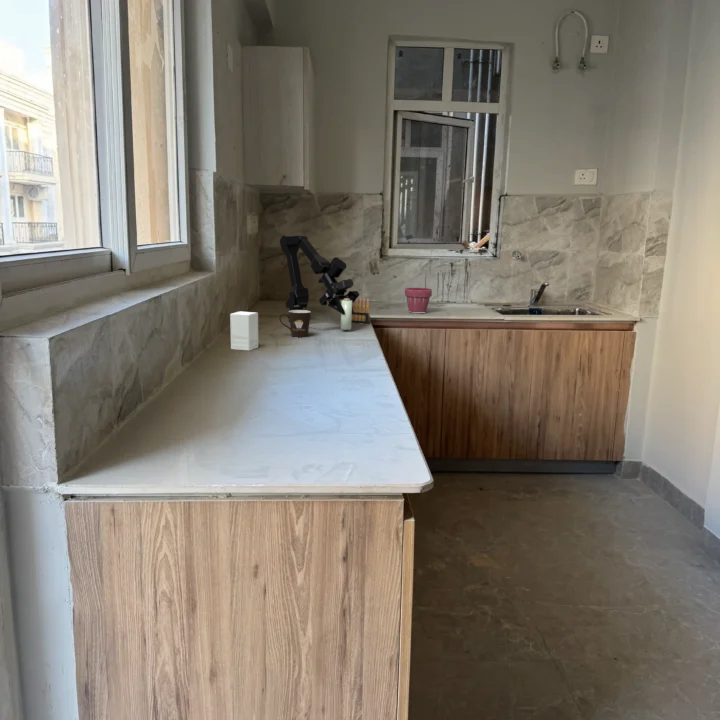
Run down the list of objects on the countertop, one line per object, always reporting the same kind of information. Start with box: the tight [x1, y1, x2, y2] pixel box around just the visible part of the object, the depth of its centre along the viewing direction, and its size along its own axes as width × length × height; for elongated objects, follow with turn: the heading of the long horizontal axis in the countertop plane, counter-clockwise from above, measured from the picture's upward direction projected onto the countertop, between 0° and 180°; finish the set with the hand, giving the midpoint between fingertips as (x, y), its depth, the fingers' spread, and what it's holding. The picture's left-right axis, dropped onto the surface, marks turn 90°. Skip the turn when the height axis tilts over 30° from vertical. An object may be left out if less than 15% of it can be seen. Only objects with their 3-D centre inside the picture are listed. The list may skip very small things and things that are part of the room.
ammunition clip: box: [351, 297, 371, 325], centre depth 283 cm, size 11×2×12 cm, turn 78°
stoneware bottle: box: [340, 298, 352, 330], centre depth 258 cm, size 4×4×13 cm
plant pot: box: [404, 287, 433, 313], centre depth 326 cm, size 14×14×13 cm
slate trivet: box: [309, 322, 341, 331], centre depth 267 cm, size 11×11×1 cm
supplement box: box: [229, 310, 259, 351], centre depth 215 cm, size 7×7×13 cm
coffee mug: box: [278, 309, 312, 339], centre depth 243 cm, size 12×9×10 cm
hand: (348, 313), depth 257 cm, fingers closed on stoneware bottle, 4 cm apart
